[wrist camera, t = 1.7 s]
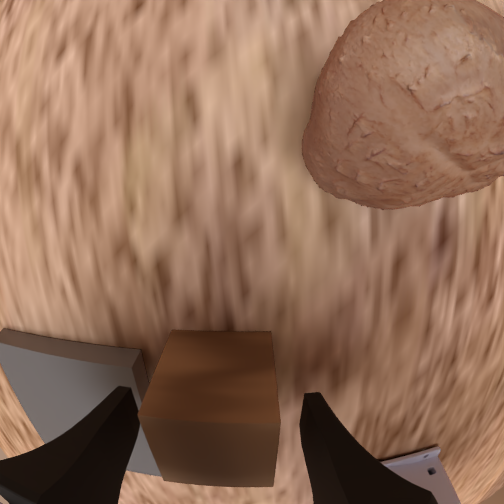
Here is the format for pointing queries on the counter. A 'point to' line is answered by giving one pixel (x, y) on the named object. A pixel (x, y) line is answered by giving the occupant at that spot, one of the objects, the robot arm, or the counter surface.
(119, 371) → the slate tile
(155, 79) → the counter surface
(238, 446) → the walnut block
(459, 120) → the mushroom
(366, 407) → the counter surface
